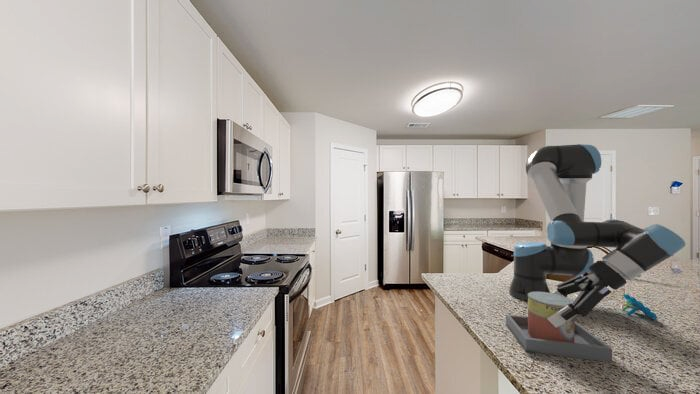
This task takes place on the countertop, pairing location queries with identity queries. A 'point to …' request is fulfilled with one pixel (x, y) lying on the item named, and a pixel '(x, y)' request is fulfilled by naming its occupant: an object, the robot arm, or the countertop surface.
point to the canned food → (543, 308)
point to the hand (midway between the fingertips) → (546, 313)
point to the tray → (560, 342)
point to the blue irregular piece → (637, 307)
